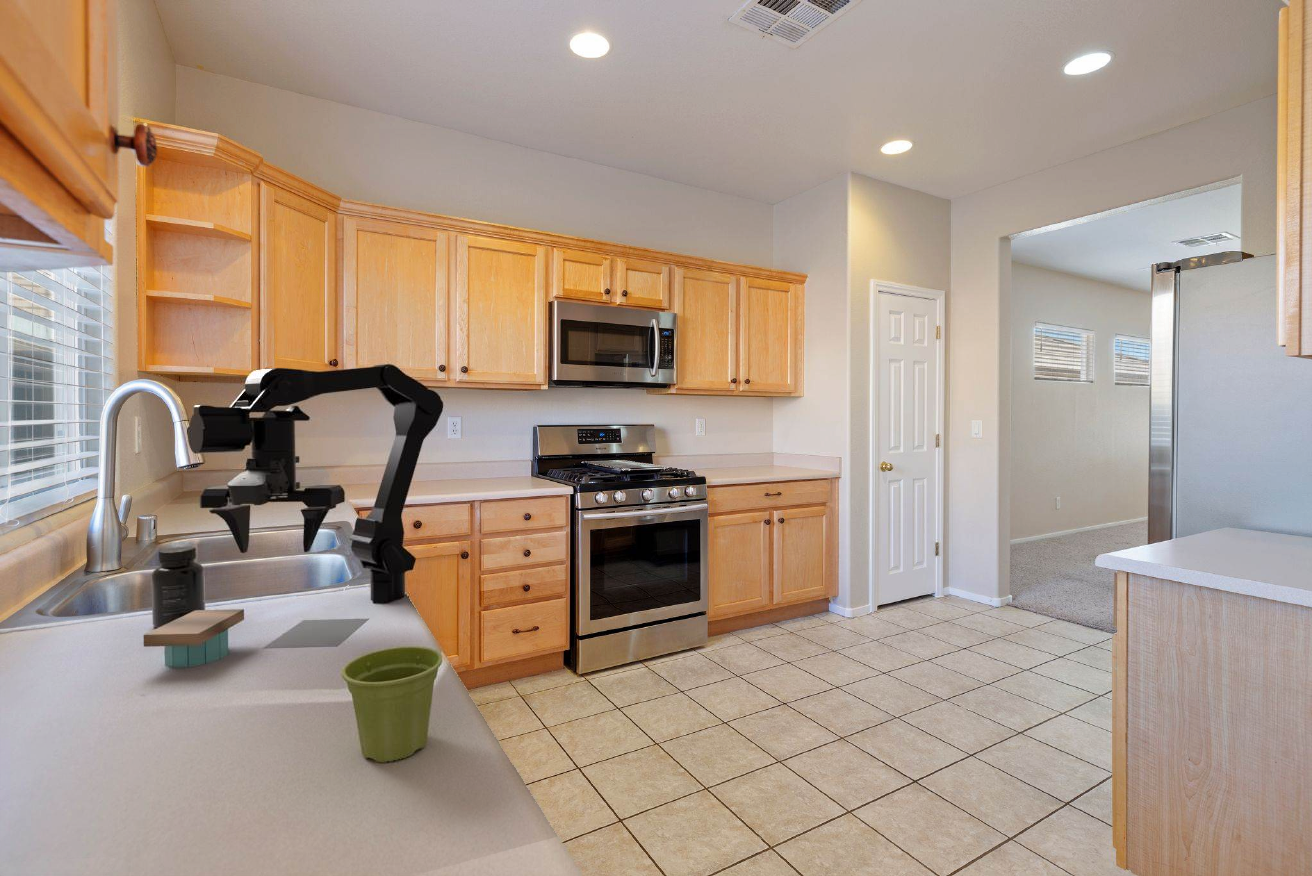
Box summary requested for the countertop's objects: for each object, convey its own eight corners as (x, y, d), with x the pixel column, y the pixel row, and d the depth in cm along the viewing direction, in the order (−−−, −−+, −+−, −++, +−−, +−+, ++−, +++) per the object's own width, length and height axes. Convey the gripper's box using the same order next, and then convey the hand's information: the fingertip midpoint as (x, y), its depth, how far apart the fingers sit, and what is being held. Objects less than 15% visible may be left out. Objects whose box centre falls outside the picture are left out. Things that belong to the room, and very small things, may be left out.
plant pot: (339, 783, 57) (338, 689, 57) (345, 734, 66) (344, 653, 65) (447, 761, 61) (446, 672, 61) (439, 718, 69) (438, 640, 69)
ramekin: (187, 656, 87) (186, 624, 87) (239, 655, 88) (238, 623, 87) (152, 676, 80) (151, 642, 80) (208, 674, 81) (208, 640, 81)
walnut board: (195, 620, 88) (195, 610, 88) (244, 619, 89) (243, 609, 89) (143, 646, 78) (143, 634, 78) (198, 645, 79) (198, 633, 79)
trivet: (303, 627, 99) (303, 620, 99) (369, 625, 100) (369, 618, 100) (262, 656, 87) (262, 648, 87) (337, 654, 88) (337, 646, 88)
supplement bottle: (216, 616, 104) (214, 545, 104) (181, 630, 97) (179, 554, 97) (178, 615, 105) (176, 544, 104) (140, 629, 98) (138, 553, 98)
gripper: (173, 454, 87) (175, 565, 87) (313, 453, 88) (315, 563, 89) (221, 449, 98) (223, 548, 98) (345, 449, 100) (346, 547, 100)
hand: (275, 552), depth 96 cm, fingers open, 9 cm apart
